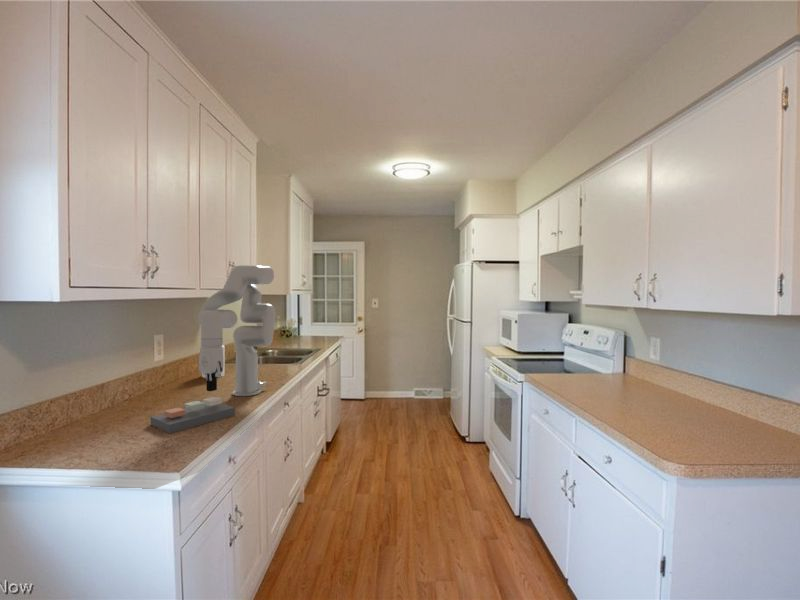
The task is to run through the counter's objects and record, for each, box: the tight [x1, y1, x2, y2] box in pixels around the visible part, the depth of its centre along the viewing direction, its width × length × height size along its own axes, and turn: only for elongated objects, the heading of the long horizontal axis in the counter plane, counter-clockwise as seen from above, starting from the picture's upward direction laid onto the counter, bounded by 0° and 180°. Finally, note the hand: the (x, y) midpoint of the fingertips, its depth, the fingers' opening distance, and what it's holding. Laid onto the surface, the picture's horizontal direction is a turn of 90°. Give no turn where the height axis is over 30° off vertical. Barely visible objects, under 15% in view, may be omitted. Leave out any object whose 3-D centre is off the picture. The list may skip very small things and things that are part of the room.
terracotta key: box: [163, 407, 185, 418], centre depth 142 cm, size 5×5×2 cm
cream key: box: [202, 396, 223, 406], centre depth 153 cm, size 5×5×2 cm
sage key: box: [183, 400, 204, 411], centre depth 147 cm, size 5×5×2 cm
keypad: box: [150, 403, 236, 434], centre depth 148 cm, size 24×14×3 cm, turn 145°
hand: (211, 390), depth 153 cm, fingers closed
